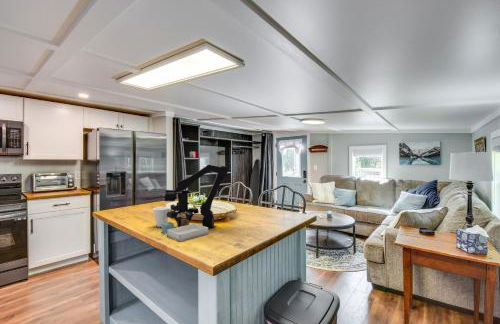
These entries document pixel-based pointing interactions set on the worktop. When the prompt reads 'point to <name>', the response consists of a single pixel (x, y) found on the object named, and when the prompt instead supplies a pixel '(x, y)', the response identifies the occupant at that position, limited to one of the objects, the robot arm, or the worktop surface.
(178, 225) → the robot arm
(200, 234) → the tray
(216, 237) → the worktop surface
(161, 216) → the cup
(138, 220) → the worktop surface
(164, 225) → the teal block
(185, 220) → the walnut block
